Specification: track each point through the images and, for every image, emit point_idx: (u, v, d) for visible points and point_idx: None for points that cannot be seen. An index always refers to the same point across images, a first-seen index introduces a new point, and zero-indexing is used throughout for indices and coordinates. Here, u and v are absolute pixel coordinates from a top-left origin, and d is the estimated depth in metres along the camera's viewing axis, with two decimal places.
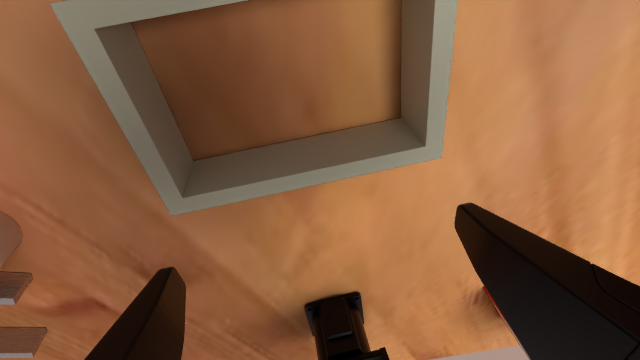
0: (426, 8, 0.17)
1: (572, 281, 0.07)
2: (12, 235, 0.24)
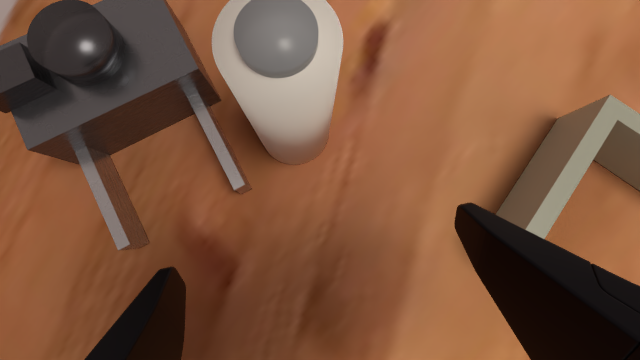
0: None
1: (572, 281, 0.07)
2: (317, 153, 0.23)
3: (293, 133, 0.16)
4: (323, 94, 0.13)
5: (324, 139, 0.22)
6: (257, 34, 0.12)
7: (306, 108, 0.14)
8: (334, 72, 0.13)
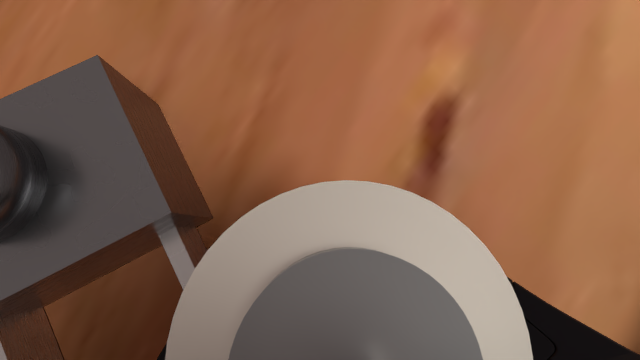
0: None
1: None
2: None
3: None
4: None
5: None
6: None
7: None
8: None
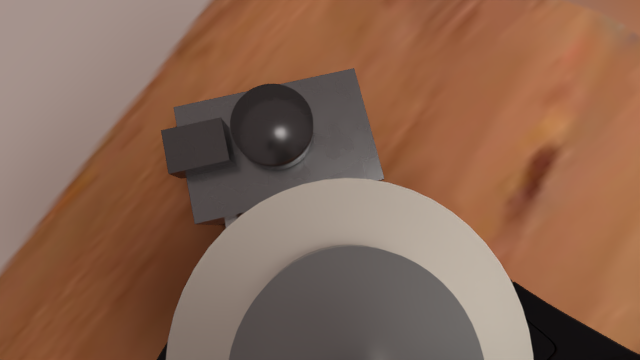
0: None
1: None
2: None
3: None
4: None
5: None
6: None
7: None
8: None
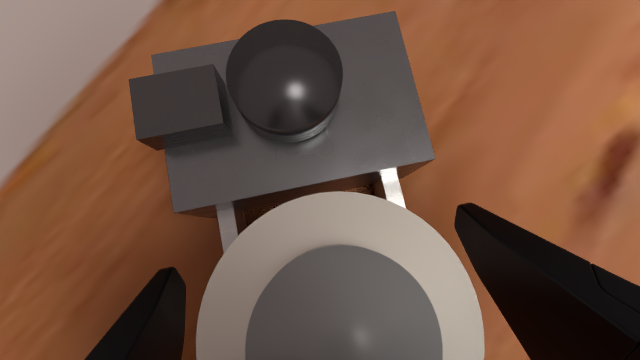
0: None
1: (572, 281, 0.07)
2: None
3: None
4: None
5: None
6: (301, 357, 0.05)
7: None
8: None
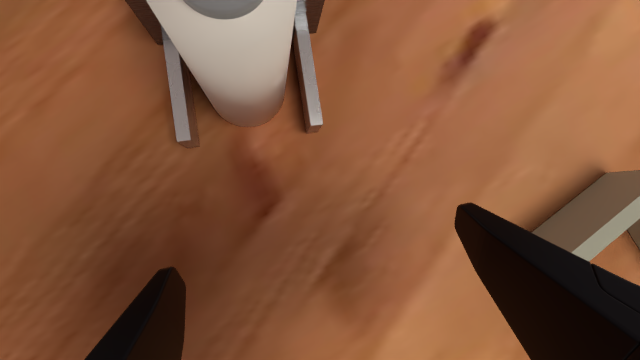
0: None
1: (572, 281, 0.07)
2: (269, 116, 0.22)
3: (240, 89, 0.15)
4: (272, 46, 0.12)
5: (277, 101, 0.20)
6: None
7: (252, 60, 0.12)
8: (286, 20, 0.11)
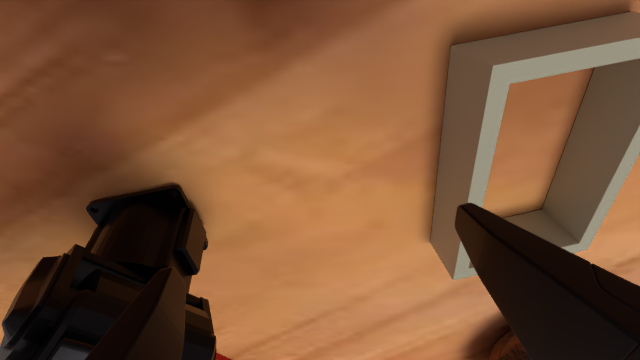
0: (549, 240, 0.28)
1: (572, 281, 0.07)
2: None
3: None
4: None
5: None
6: None
7: None
8: None
